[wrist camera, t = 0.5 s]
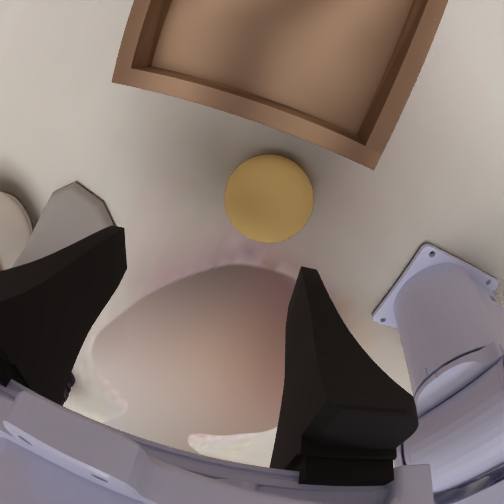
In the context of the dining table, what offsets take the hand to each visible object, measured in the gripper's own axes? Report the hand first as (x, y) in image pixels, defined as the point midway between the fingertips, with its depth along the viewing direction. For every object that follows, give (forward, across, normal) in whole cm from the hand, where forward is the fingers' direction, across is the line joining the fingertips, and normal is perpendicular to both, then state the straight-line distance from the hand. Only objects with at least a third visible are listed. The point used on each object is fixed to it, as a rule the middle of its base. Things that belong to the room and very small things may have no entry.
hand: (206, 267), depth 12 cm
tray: (+9, 0, -11) cm, 14 cm away
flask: (+10, +13, +6) cm, 17 cm away
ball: (+9, -2, 0) cm, 10 cm away
